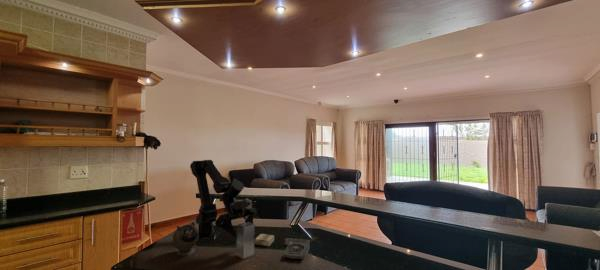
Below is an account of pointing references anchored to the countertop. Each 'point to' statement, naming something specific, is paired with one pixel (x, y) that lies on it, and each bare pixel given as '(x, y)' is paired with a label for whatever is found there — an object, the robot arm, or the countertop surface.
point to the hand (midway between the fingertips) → (244, 233)
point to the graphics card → (296, 249)
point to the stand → (264, 239)
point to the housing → (245, 240)
